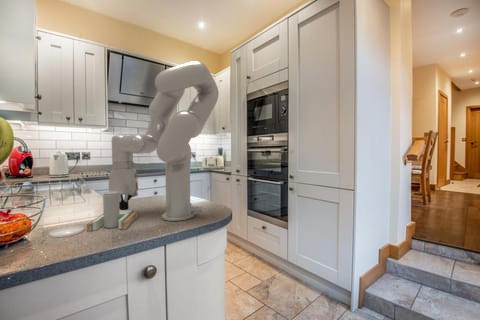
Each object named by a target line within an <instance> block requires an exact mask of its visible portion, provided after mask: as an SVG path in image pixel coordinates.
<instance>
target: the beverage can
mask: <svg viewBox="0 0 480 320" xmlns="http://www.w3.org/2000/svg"><path fill="white" fill-rule="evenodd" d="M102 199H103V201H102V202H103V204H102V205H103V213H104V225H103V227H105V228H106V229H113V228H118V220H119V210H120V209H119V193H118V192H117V191H112V192H109V191H105V192H104V193H103V195H102Z"/></svg>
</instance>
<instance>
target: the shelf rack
mask: <svg viewBox="0 0 480 320" xmlns="http://www.w3.org/2000/svg"><path fill="white" fill-rule="evenodd" d="M103 214H104V212H103V213H102V214H101V215H99V216H98V217H96V218H94V219H93V220H91V221H90V222H88V223H86V232H87V233H88V232H92V231H93V223H92V222H93V221H94V220H96V219H97V218H99V217H100V216H102V215H103ZM138 217H139V210H134V212H133V213H132V214H131V215H130V216H129V217H128V218H126V219H125V220H124V221H123V222H122V229H121V230H122V231H124V230H126V231H127V229H128V228H129V227H130V226H131V225H132V224H133V223H134V222H135V221H136V220H137V219H138Z"/></svg>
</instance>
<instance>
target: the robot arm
mask: <svg viewBox="0 0 480 320" xmlns="http://www.w3.org/2000/svg"><path fill="white" fill-rule="evenodd" d="M154 86H155V88H156V90H157V93H156V95H155V97H154V98H153V100H152V101H151V103H150V105H149V106H148V113H149V117H150V123H149V126H148V128H147V129H146V132H145V134H131V135H130V134H129V135H125V134H124V135H123V134H119V135H118V134H117V135H113V136H112V137H111V168H112V169H110V172H109V178H108V192H112V191H117V192H118V193H119V210H129V207H130V206H129V201H130V200H131V199H133V198H135V197H137V196H139V193H138V192H139V182H138V181H139V180H138V174H137V170H136V168H135V167H137V166H138V164H137V163H136V162H134V154H137V155H138V154H141V155H142V154H151V153H154V151H155V150H156V154H157V157H158V159H159V160H161V161H162V162H164V163H166V166H165V212H164V213H162V214H161V218H162V220H165V221H169V222H178V221H186V220H189V219H192V218H194V216H195V213H199V212H200V213H201V212H203V211H202V209H203V208H202V206H199V205H198V206H197V205H196V206H193V205H192V203H191V161H192V147H191V145H190V144H189V143H190V141H191V140H192V139H194V138H197V137H198V136H200V134H201V132H202V130H203V128H204V127H205V125H206V123H207V121H208V120H209V118H210V116H211V114H212V112H213V110H214V109H215V106H217V105H216V104H217V102H218V99H219V93H220V92H219V87H218V85H217V82H216V81H215V79H214V78H213V76H212V74H211V72H210V70H209V68H208V67H207V66H206V64H205V63H203V62H201V61H198V60H194V61H193V60H192V61H188V62H184V63H181V64H179V65H175V66H172V67H170V68H166V69H164V70H162V71H160V72H159V73H158V74H157V76H156V77H155V79H154ZM191 87H192V88H193V89H195V90H196V92H197V93H196V96H195V97H194V98H193V99H192V101H191V102H190V105H189V106H188V108H187V110H181V111H178V112H176V113H175V114H174V115H173V112H174V111H175V109H176V108H177V107H178V104H179V102H180V101H181V99H182V98H183V96H184V94H185V91H186V89H189V88H191ZM172 115H173V116H172ZM171 117H172V118H171ZM170 118H171V119H170Z"/></svg>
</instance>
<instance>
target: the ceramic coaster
mask: <svg viewBox="0 0 480 320" xmlns="http://www.w3.org/2000/svg"><path fill="white" fill-rule="evenodd" d="M84 231H85V226H84V225H79V224H78V225H77V224H75V225H67V226H61V227H59V228H55V229H53V230H51V231H49V237H50V238H55V239H56V238H57V239H58V238H67V237H72V236H75V235H78V234H81V233H83V232H84Z"/></svg>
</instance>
